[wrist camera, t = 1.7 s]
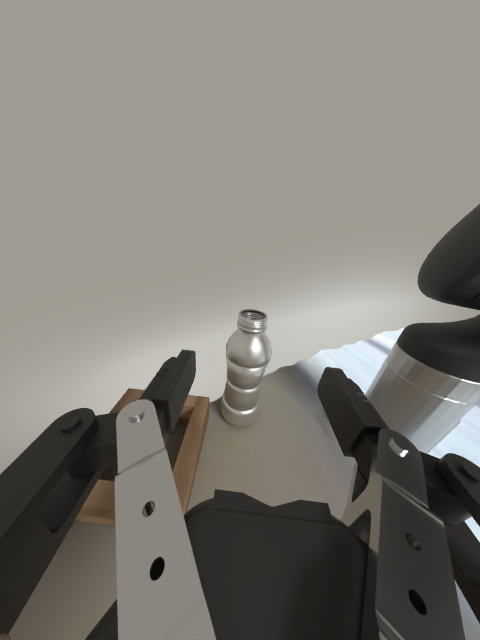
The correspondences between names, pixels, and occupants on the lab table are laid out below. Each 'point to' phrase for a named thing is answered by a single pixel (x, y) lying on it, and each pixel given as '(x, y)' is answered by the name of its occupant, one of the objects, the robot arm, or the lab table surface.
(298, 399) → the lab table surface
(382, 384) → the robot arm
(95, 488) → the wooden square frame
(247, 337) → the plastic bottle
